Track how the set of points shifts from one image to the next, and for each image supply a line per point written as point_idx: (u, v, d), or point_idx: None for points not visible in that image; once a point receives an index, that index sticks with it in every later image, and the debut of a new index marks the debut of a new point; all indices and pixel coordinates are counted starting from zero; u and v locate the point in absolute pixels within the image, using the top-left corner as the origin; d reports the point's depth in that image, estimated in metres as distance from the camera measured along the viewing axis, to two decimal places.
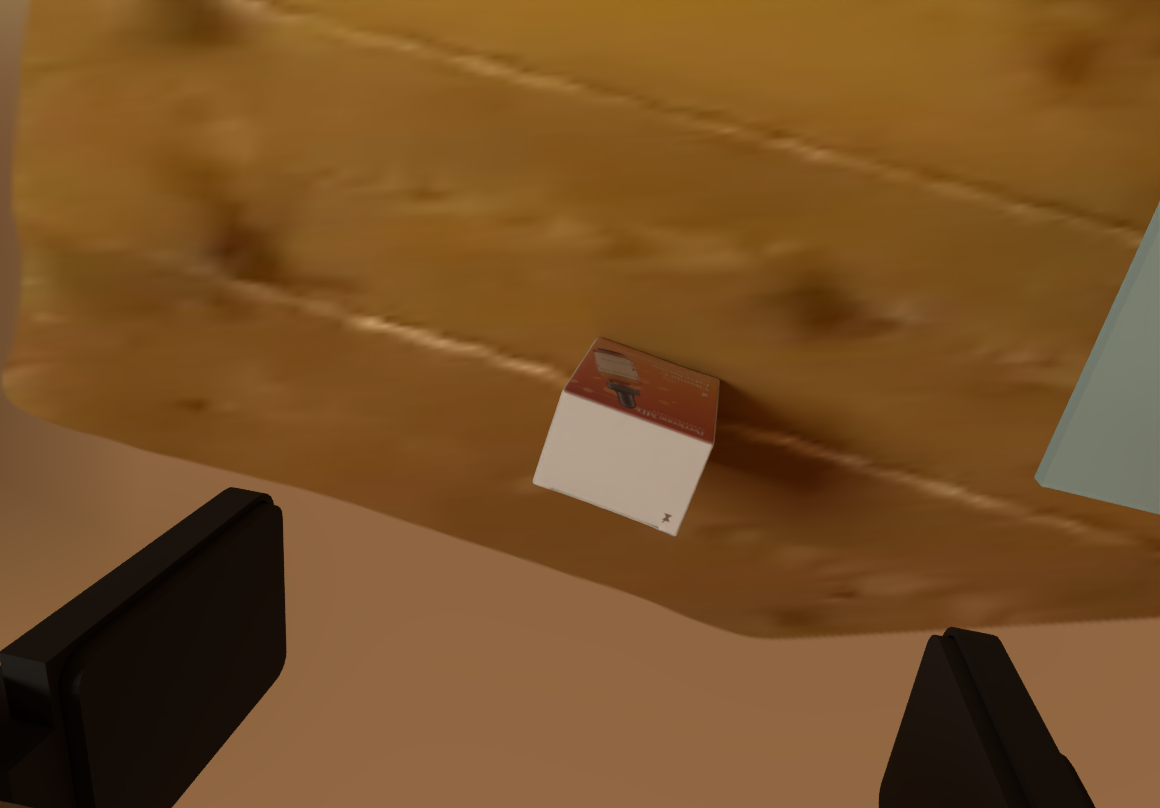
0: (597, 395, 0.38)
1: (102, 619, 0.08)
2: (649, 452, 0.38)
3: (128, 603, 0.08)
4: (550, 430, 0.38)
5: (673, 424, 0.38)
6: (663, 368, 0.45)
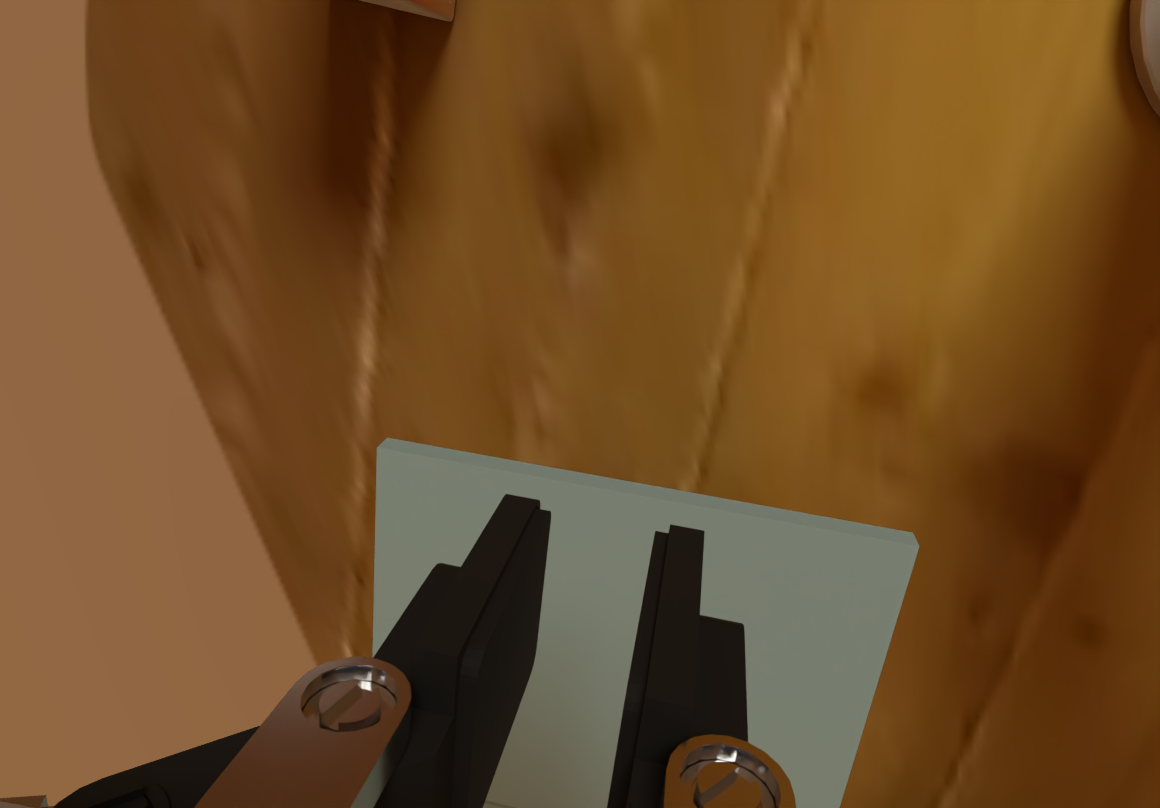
0: None
1: (478, 617, 0.09)
2: None
3: (487, 602, 0.09)
4: None
5: None
6: None
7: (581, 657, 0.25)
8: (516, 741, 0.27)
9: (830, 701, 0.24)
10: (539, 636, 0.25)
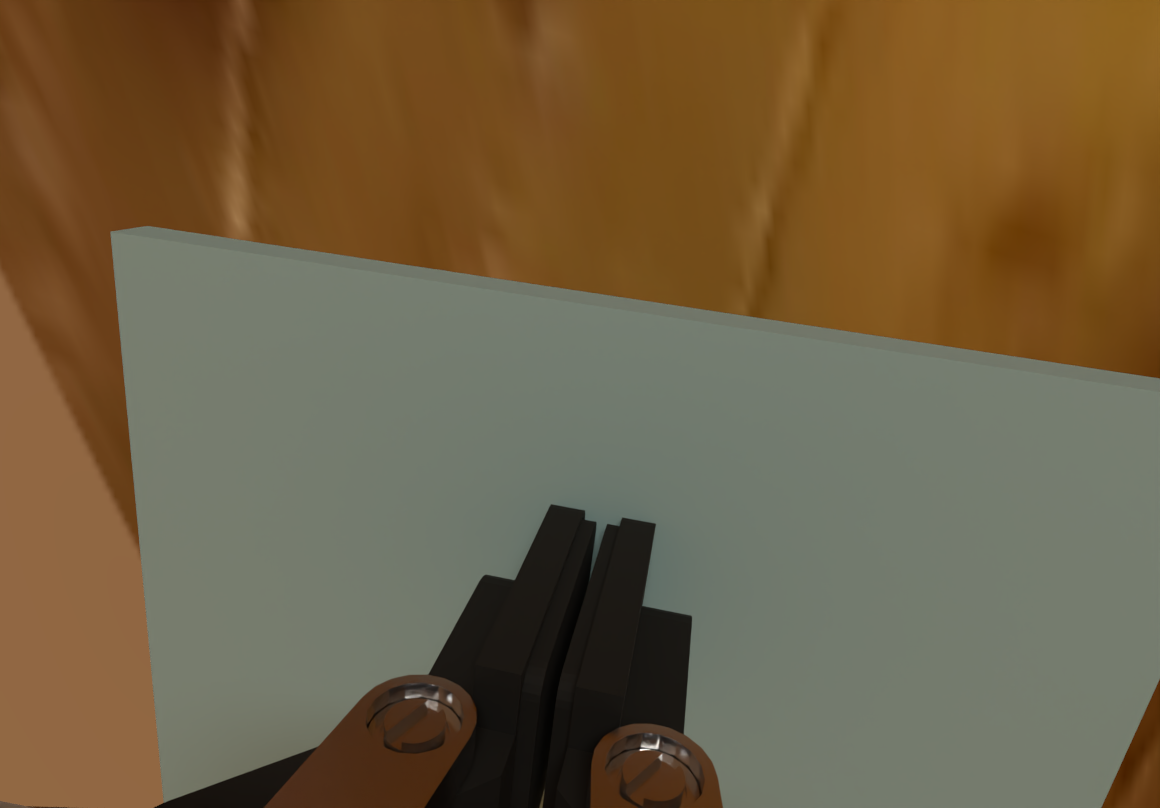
0: None
1: (537, 632, 0.09)
2: None
3: (544, 617, 0.09)
4: None
5: None
6: None
7: None
8: None
9: (1034, 753, 0.12)
10: (449, 621, 0.13)
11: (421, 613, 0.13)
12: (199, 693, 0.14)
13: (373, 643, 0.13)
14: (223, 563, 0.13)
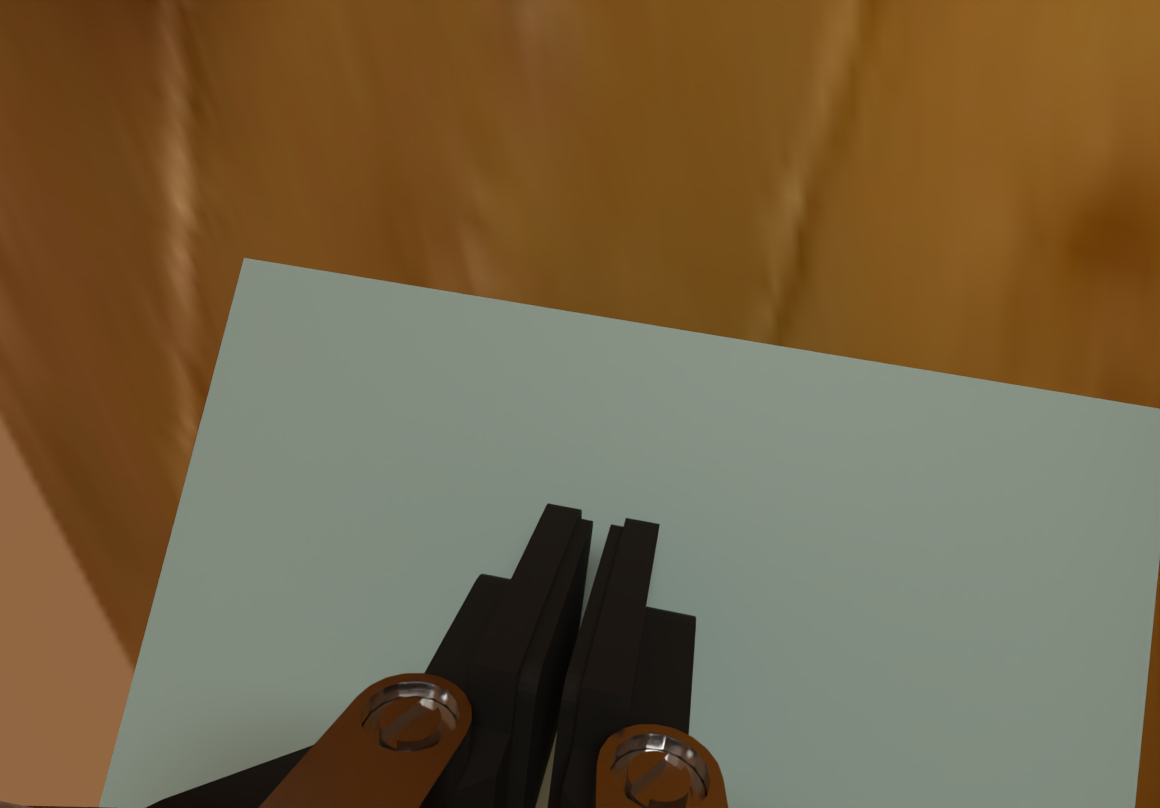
0: None
1: (533, 632, 0.09)
2: None
3: (540, 616, 0.09)
4: None
5: None
6: None
7: None
8: None
9: (1052, 771, 0.12)
10: None
11: (441, 618, 0.13)
12: (173, 728, 0.13)
13: (383, 657, 0.13)
14: (249, 565, 0.14)
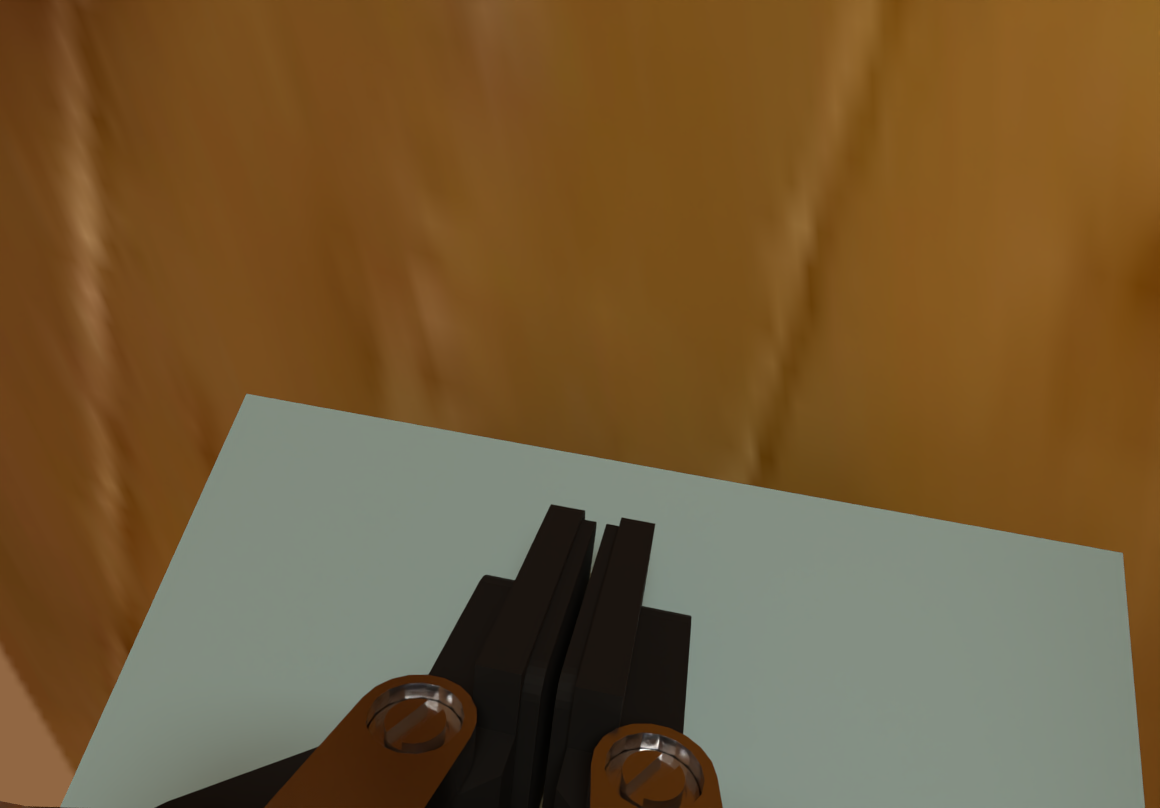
0: None
1: (537, 633, 0.09)
2: None
3: (545, 618, 0.09)
4: None
5: None
6: None
7: None
8: None
9: None
10: None
11: None
12: None
13: None
14: (204, 699, 0.13)
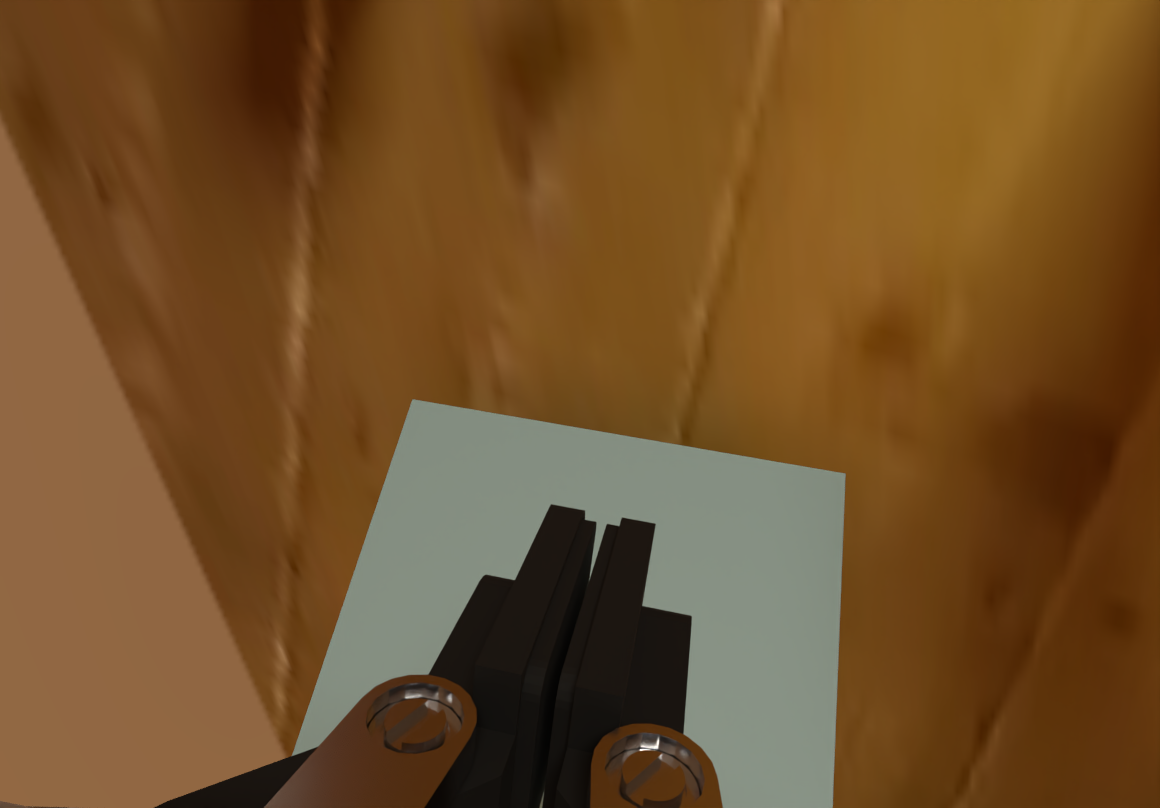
0: None
1: (537, 633, 0.09)
2: None
3: (544, 617, 0.09)
4: None
5: None
6: None
7: None
8: None
9: (802, 629, 0.25)
10: None
11: (511, 567, 0.26)
12: (366, 625, 0.25)
13: None
14: (410, 544, 0.26)
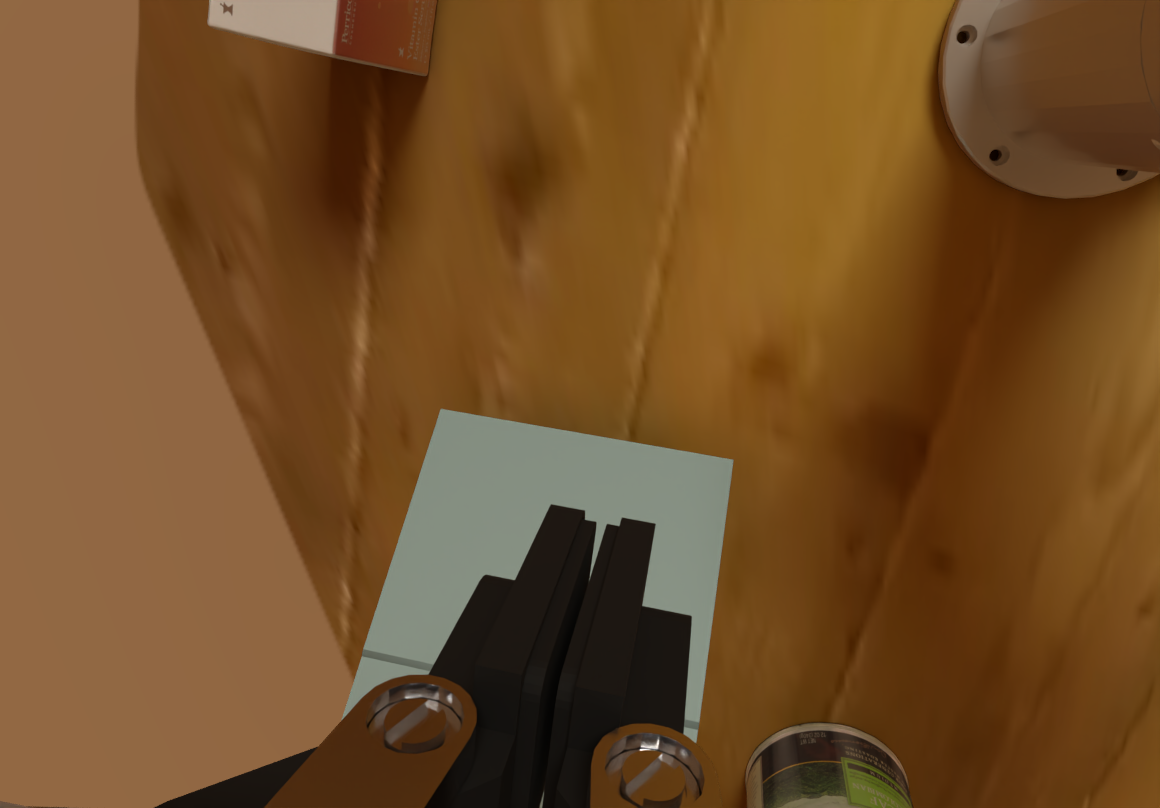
0: None
1: (537, 633, 0.09)
2: None
3: (544, 617, 0.09)
4: None
5: None
6: None
7: None
8: None
9: (695, 561, 0.38)
10: (515, 523, 0.39)
11: (506, 521, 0.39)
12: (412, 558, 0.39)
13: (486, 533, 0.39)
14: (440, 506, 0.40)
